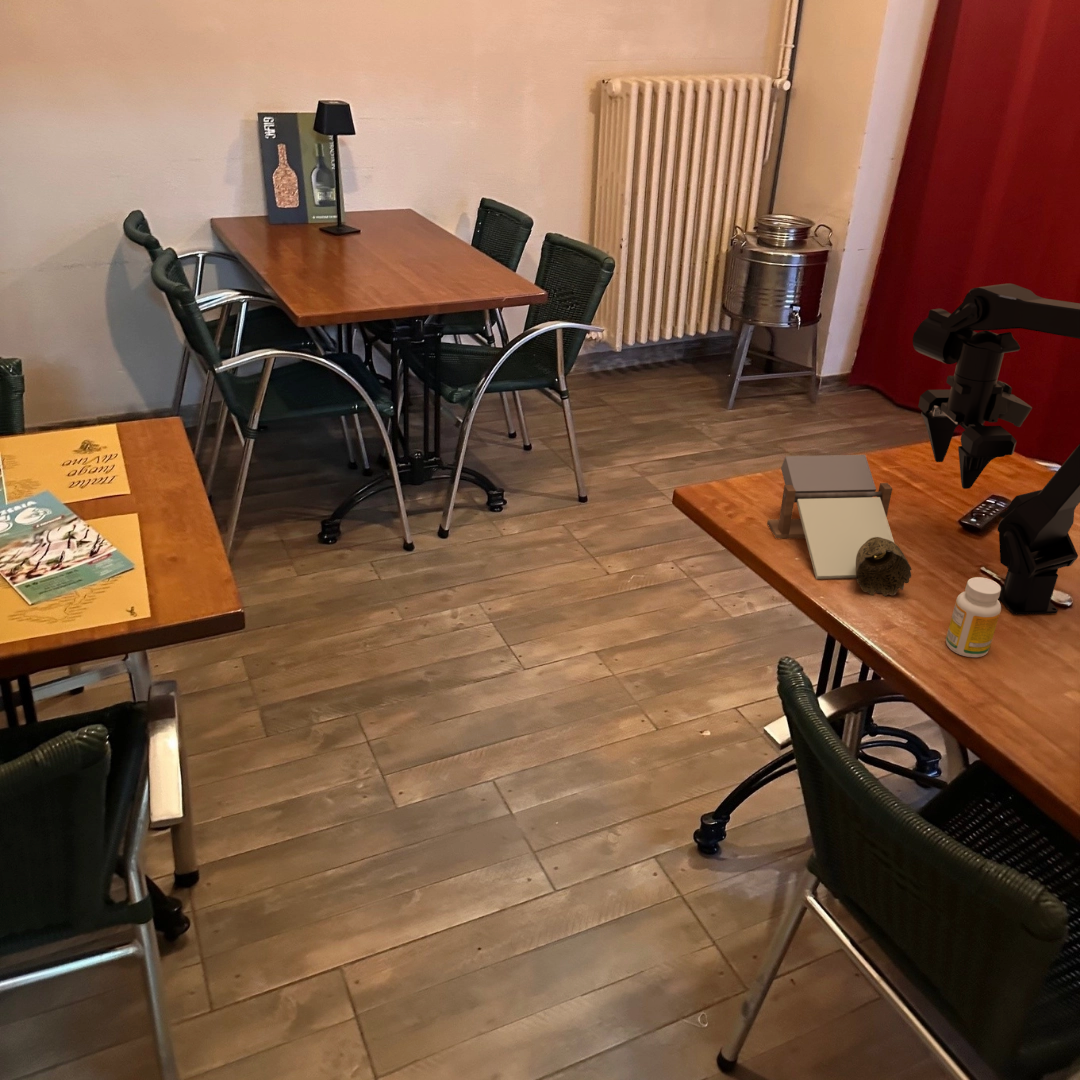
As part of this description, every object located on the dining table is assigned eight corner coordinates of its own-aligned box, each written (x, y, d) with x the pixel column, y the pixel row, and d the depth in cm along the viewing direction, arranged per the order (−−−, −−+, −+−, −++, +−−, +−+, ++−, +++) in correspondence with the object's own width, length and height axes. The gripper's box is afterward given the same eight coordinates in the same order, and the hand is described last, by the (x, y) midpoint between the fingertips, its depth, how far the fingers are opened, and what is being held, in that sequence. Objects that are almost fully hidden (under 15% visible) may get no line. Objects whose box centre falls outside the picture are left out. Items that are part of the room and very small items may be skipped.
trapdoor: (896, 585, 147) (904, 573, 144) (811, 588, 146) (817, 576, 143) (859, 466, 160) (866, 452, 157) (780, 467, 159) (786, 454, 156)
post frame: (887, 536, 155) (897, 488, 151) (775, 538, 154) (783, 490, 150) (875, 521, 160) (885, 474, 156) (767, 523, 158) (773, 476, 154)
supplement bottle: (938, 647, 129) (954, 584, 124) (955, 630, 132) (971, 569, 128) (979, 664, 126) (997, 601, 121) (995, 646, 129) (1013, 584, 125)
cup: (843, 562, 147) (850, 592, 140) (856, 520, 143) (863, 549, 136) (893, 569, 146) (903, 600, 139) (908, 527, 142) (918, 557, 136)
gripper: (1066, 397, 131) (1036, 502, 139) (999, 352, 147) (975, 448, 155) (986, 398, 130) (959, 503, 138) (927, 353, 146) (907, 449, 154)
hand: (952, 474), depth 146 cm, fingers open, 9 cm apart
